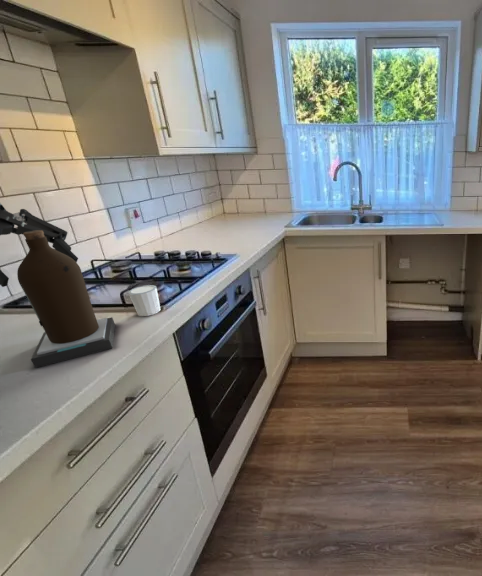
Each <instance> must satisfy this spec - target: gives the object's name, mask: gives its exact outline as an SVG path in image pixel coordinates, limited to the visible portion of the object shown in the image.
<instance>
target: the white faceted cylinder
mask: <svg viewBox="0 0 482 576" xmlns="http://www.w3.org/2000/svg"><path fill="white" fill-rule="evenodd" d="M127 293H128V296H129V298H130V300H131V303H132V305H133V307H134V309H135V311H136V313H137V316H139V317H148V316H152V315H155V314H157V313H159V312H160V311H161V304H160V299H159V294H158V288H157V285H153V284H152V285H150V284H147V285H140V286H136V287H133V288H132V289H130V290H128V292H127Z"/></svg>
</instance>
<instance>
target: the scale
mask: <svg viewBox="0 0 482 576" xmlns="http://www.w3.org/2000/svg"><path fill="white" fill-rule="evenodd" d="M97 322H98V325H99V328H98V330H97V331H96V332H94V333H93V334H91V335H89V336H87V337H85V338H82V339H80V340H76V341H73V342H68V343H52V342H50V340H49V339H48V337H47V335H46V333H45V331H44V332H43V334H42V336H41V338H40V339H39V342H38V343H37V345H36V347H35V350H34V352H33V353H32V356H31V358H30V360H31V362H32V364H33V366H34V368H35V369H38V368H41V367H45V366H48V365H49V366H50V365H53V364H57V363H60V362H64V361H68V360H72V359H76V358H80V357H84V356H87V355H92V354H96V353H100V352H104V351H107V350H111V349H113V347H114V339H115V330H116V324H115V320H114V318H113V316H111V317H102V318H100V319H99V318H98V319H97Z"/></svg>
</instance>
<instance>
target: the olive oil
mask: <svg viewBox="0 0 482 576" xmlns="http://www.w3.org/2000/svg"><path fill="white" fill-rule="evenodd" d="M23 234H24V235H23ZM23 234H22V235H23V236H24V238H25V239H24V241H25V243H26V245H27V247H28V250H29V251H28V252H27V254H26V255H25V256H24V258H23V259H22V261H21V262H20V264H19V266H18V268H17V271H16V272H17V273H16V275H17V281H18V284H19V286H20V287H21V289H22V291H23V293H24V295H25V296H26V298H27V300H28V302H29V304H30V306H31V307H32V310H33V311H34V313H35V315H36V317H37V320H38V323H39V325H40V327H42V328H43V330H44V332H45V333H46V335H47V337H48V339H49V340H50V342H52V343H68V342H73V341H76V340H80V339H82V338H85V337H87V336H89V335H91V334H93V333H94V332H96V331H97V330H98V328H99V325H98V322H97V320H98V319H97V316H96V314H95V311H94V308H93V304H92V301H91V297H90V294H89V292H88V288H87V285H86V282H85V279H84V276H83V275H84V274H83V272H82V269H81V267H80V265H79V264H78V263H76V262H75V260H74V259H72V258H71V257H69V256H67V255H65V254H63V253H61V252H59V251H57V250H55V249H54V248H53V247H52V246H50V244H49V242H48V241H47V238H46V236H44V232H43V230H34V231H28V232H24V233H23Z"/></svg>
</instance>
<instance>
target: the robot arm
mask: <svg viewBox="0 0 482 576" xmlns="http://www.w3.org/2000/svg"><path fill="white" fill-rule="evenodd" d="M15 226H16V227H17V228H16V227H15ZM34 230H43V232H44V236H46V238H47V241H48V243H50V244H52V245H51V248H53V249H55V250H57V251H59V252H61V253H63V254H65V255H67V256H69V257H71V258H72V259H74V260H75V262H76V263H77V262H78V260H79V257H78V256H77V255H76V254H75V253H74V252H73V251H72V247H71V246H70V244H69V243H67V242H66V239H67V236H68V231H67V230H64V229H62V228H60V227H59V226H57V225H54V224H52V223H50V222H48V221H46V220H44V219H42V218H40V217H38V216H35V215H34V214H32V213H30V211H29V210H27V209H25V208H21V209H19V212H15V213H12V212H9V211H8V210H7V209H6V208H5V206H4V205H3V204H2V203H1V202H0V236H6V235H11V234H14V235H19V236H20V235H23V236H24V234H23V233H24V232H28V231H34ZM77 264H78V263H77ZM9 280H10V277H8V276H7V275H6V273H4V272H3V271H2V270H1V269H0V286H1V287H2V288H5V287H8V283H9Z"/></svg>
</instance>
